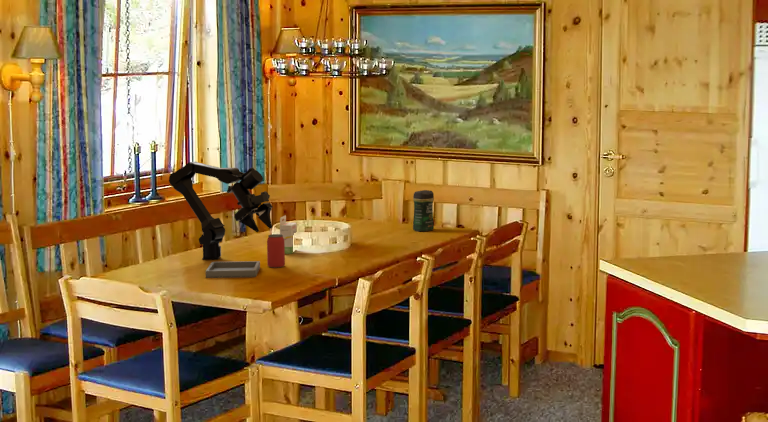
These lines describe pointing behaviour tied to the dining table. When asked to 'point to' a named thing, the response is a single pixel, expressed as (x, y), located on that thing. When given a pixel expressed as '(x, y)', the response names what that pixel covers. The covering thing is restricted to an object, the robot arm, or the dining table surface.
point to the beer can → (275, 251)
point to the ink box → (287, 234)
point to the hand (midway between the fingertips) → (264, 229)
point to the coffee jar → (423, 210)
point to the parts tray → (233, 269)
